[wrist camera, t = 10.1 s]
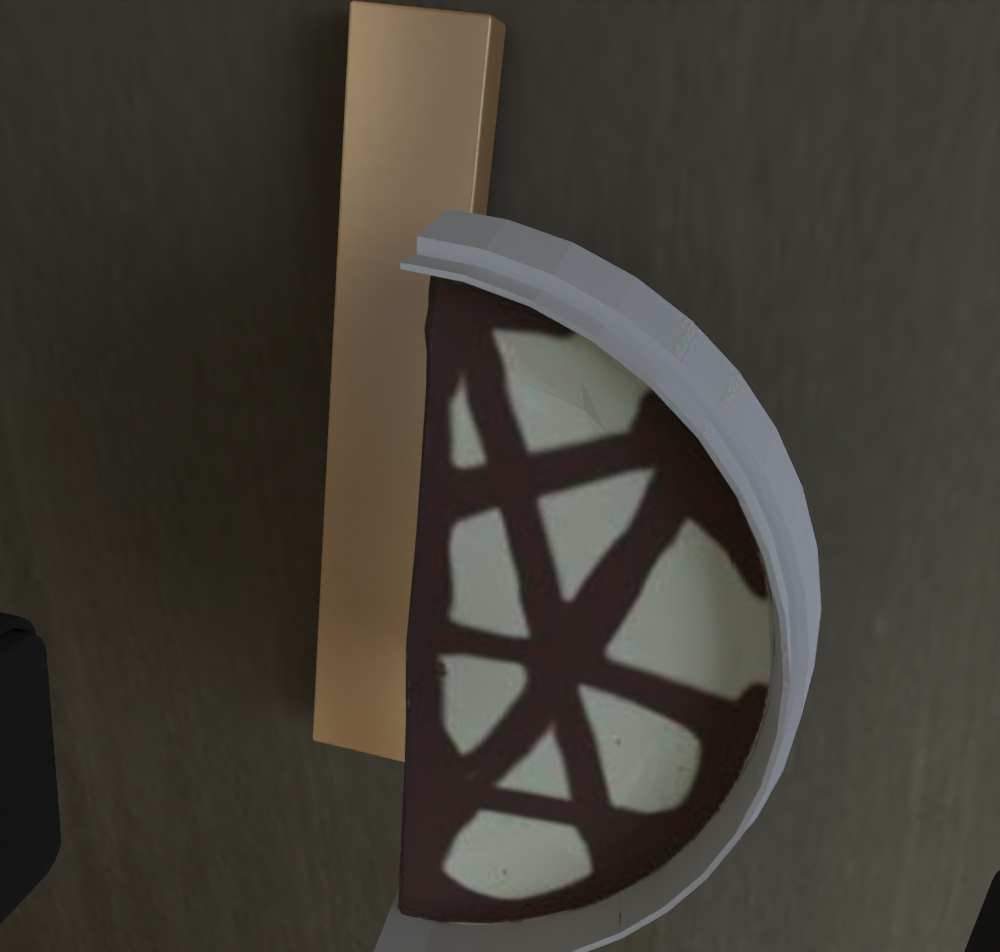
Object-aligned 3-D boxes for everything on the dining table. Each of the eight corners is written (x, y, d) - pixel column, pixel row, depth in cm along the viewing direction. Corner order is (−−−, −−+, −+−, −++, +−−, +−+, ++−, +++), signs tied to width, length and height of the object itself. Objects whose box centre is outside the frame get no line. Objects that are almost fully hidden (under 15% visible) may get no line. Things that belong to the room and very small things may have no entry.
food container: (735, 717, 23) (749, 1081, 14) (500, 673, 25) (370, 984, 15) (833, 216, 19) (943, 272, 10) (543, 189, 20) (401, 217, 11)
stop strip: (507, 23, 19) (492, 13, 18) (432, 736, 26) (417, 766, 24) (372, 9, 20) (348, -1, 19) (331, 712, 26) (311, 741, 25)
